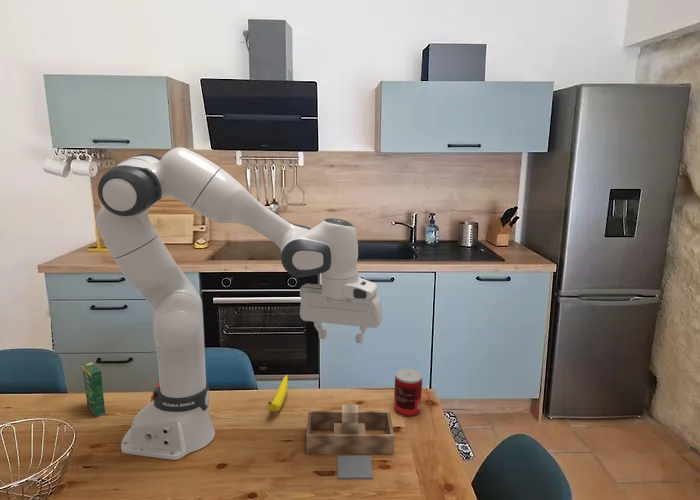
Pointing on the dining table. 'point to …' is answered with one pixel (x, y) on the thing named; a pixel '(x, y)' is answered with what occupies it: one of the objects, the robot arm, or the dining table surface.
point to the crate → (349, 442)
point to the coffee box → (94, 389)
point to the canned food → (407, 392)
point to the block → (349, 419)
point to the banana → (279, 396)
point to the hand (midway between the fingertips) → (340, 340)
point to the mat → (354, 467)
